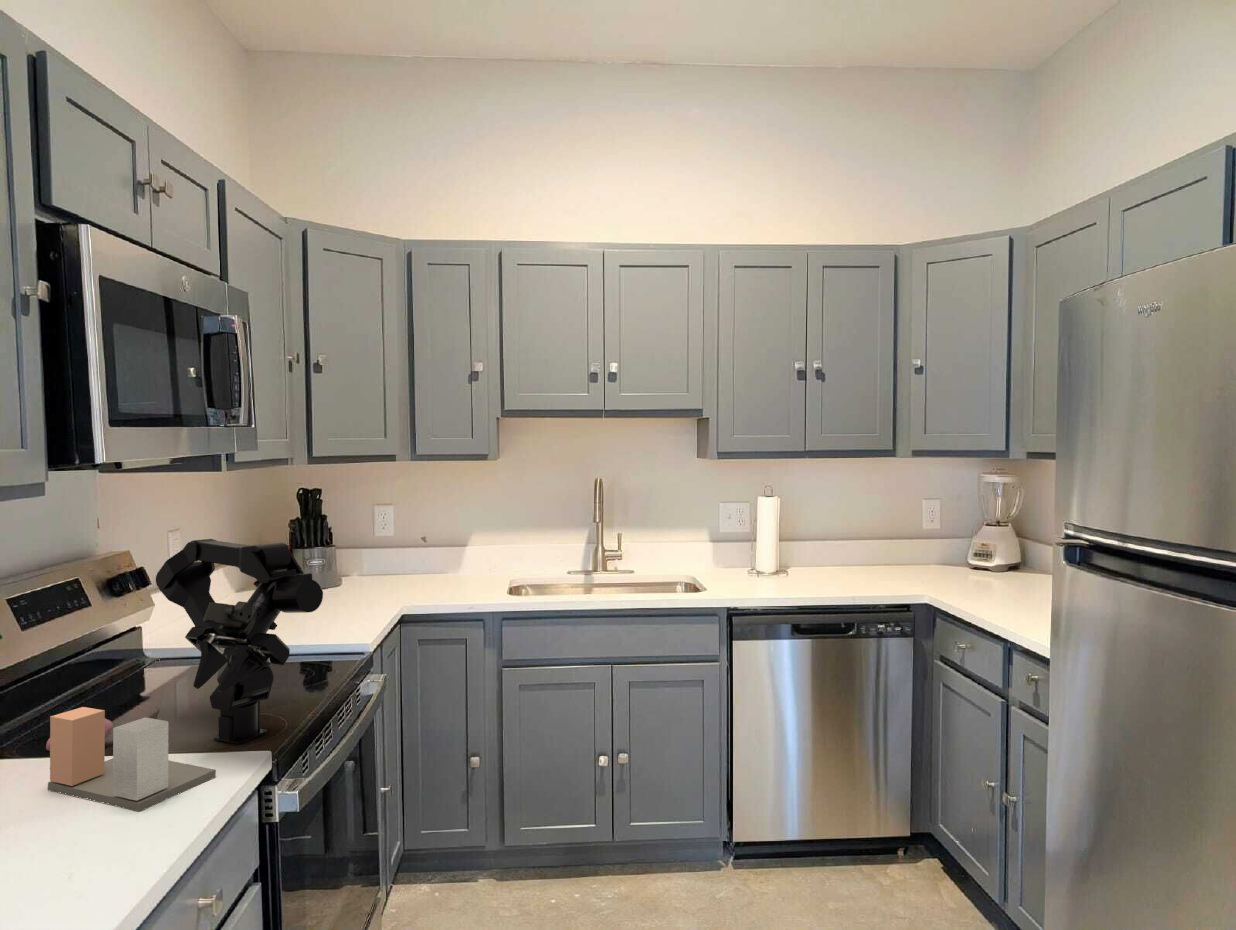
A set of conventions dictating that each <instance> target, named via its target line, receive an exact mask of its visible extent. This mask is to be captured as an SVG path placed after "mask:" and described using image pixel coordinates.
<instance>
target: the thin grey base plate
mask: <svg viewBox="0 0 1236 930" xmlns="http://www.w3.org/2000/svg"><path fill="white" fill-rule="evenodd" d="M216 777H217V775H216V769H214V768H210V767H204V766H199V765H192V764H188V763H184V762H178V761H174V760H173V761H172V760H169V759H168V787H167V788H165V789H163V790H160V791H158V792H156V793H153V794H151V795H149V796H147V797H144V798H142V799H140V800H137V801H136V800H131V799H127V798H123V797H118V796H114V795H113V758H110V759H108V760H105V765H104V774H102V775H99V776H97V777H94V778H91V779H89V780H86V781H84V782H81V783H78V784H76V785H73V786H70V785H65V784H61V783H57V782H52V781H48V782H47V790H48V789H49V790H50V792H53V791H54V793H58V792H61V793H60V794H62V793H64V794H63V795H66V794H67V796H71V795H74V796H73V797H75V796H78V797H77V798H79V797H81V798H80V799H83V798H88V799H91V800H90V801H92V800H95V801H94V802H96V801H98V803H100V802H104V803H103V804H105V803H109V804H111V805H110V806H113V805H117V806H116V807H118V806H120V807H119V808H122V809H125V810H126V809H127V810H130V809H131V810H130V811H134V812H135V811H136V812H142V811H144V810H146V809H148V808H150V807H152V805H153V806H154V805H157V804H160V803H161V802H163V801H166V800H167V799H166V798H168V799H171V798H172V796H173V797H175V796H177V795H179V794H181V793H183V792H186V791H188V790H191V789H192V788H194V787H197V786H199V785H201V784H203V783H205V782H207V781H210V780H212V779H214V778H216ZM49 790H48V791H49ZM185 790H186V791H185ZM180 792H181V793H180ZM65 793H66V794H65ZM178 793H179V794H178ZM176 794H177V795H176ZM174 795H175V796H174ZM88 799H87V800H88ZM165 799H166V800H165ZM109 804H108V805H109ZM123 807H124V808H123Z"/></svg>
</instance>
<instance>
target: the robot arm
mask: <svg viewBox="0 0 1236 930" xmlns="http://www.w3.org/2000/svg"><path fill="white" fill-rule="evenodd" d="M215 564H216V565H217V564H218V565H221V566H222V565H224V566H230V567H236V568H238V569H239V572H241V573H242V574H244V575H247V576H248V577H251V578H254V579H256V580H255V581H254V582H253V585H254V586H255V590H254V591H253V593H252V594H251V596H250V597H249V599H248V600H247V601H238V602H236V604H235V605H234V604H230V603H229V604H228V603H220V602H216V601H215V600H214V597H213V596H212V595H211V594H210V592H211V591H210V589H211V585H212V584H211V582H212V578H211V575H212V574H213V573H214V572H215V569H216V567H215V566H216V565H215ZM155 584H156V586H157V588H158V590H159V591H160V592H161V594H163V596H164V597H165V598H166V599H167V600H168V601H169V602H171V603H174V604H175V605H177V606H179V607H181V608H183V609H184V611H185V612H186V614H187V615H188V617H189V618H190V620H191V622H192V624H193V625H194V626H192V627H191V628H190V629H189V631H188V632H187V633H186V635H185V636H184V638H185V639H186V640H187V641H188V642H189V643H190V644H192V646H194V647H195V648H196V649H198V650H197V651H199V652H200V658H199V663H198V668H197V671H196V675H195V678H194V680H193V684H192V685H193V687H194V688H195V689H197V690H199V689H201V687H203V686H204V685H205V684H206V683H208V681H209V680H211V678H212V677H214V675H216V674H217V678H216V680H217V683H218V685H217V686H216V688H215V690H213V692H212V693H211V694H210V696H209V700H210V705H211V708H212V709H215V710H219V716H218V734H217V735H215V736H214V737H213V741H219V742H223V743H224V742H225V743H230V744H237V745H240V744H244V743H246V742H248V741H250V740H253V739H255V738H257V737H259V736H262V735H265V734H267V731H268V730H267V729H263V728H261V701H264V700H268V699H269V697H270V693H271V690H272V686H273V682H274V677H275V676H274V672H273V670H272V667H270V666H272V665H279V666H284V665H285V664H286V662H287V660H288V659H289V657H290V651H291V649H290V647H288V645H287V644H286V643H285V642H284V641H283V640H282V639H281V638H280V637H279V636H278V634H276V633H268V631H269V630H271V631H275V630H276V629H277V627H278V624H277V623H276V622H275V621H276V619H277V618H278V616H279V614H280V613H281V612H282V613H285V614H287V613H288V614H292V613H293V614H296V613H301V614H302V613H313V612H315V611H317V610H318V609H319V607H320V606H321V605H322V603H323V600H324V599H323V598H324V592H323V590H322V588H321V586H320V584H319V583H318V582H317V581H316V580H314V579H313V574H312V572H308V573H307V572H306V573H304V571H303V569H302V567H301V566H300V565H299V563H298V561H297V560H296V558H295V557H294V554H293V553H292V552H291V550H290V549H289V545H287V544H286V543H284V542H274V543H272V542H271V543H263V544H253V545H250V544H249V545H248V544H241V543H237V542H229V541H221V540H217V539H213V538H206V539H195V540H194V539H193V540H191V541H189V542H186V544H185V546H183V548H182V549H181V550H180V551H178V552H177V553H176V554H174V555H173V556H171V557H170V558H168V559H167V560H166V561H165V562H164V563H163V565H162V566H161V567H160V568H159V570H158V571H157V574H156V575H155ZM268 660H269V661H268Z"/></svg>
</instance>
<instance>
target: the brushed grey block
mask: <svg viewBox="0 0 1236 930" xmlns="http://www.w3.org/2000/svg"><path fill="white" fill-rule="evenodd" d="M112 732H113V733H112V738H113V739H112V742H113V743H112V744H113V745H112V747H113V748H112V751H113V753H112V759H113V795H114V796H118V797H123V798H127V799H131V800H136V801H137V800H140V799H142V798H144V797H147V796H149V795H151V794H153V793H156V792H158V791H160V790H163V789H165V788H167V787H168V760H169V721H168V720H164V719H163V720H162V719H156V718H152V717H142V718H139V719H137V720H133V721H130V722H127V723H124V724H121V725H118V726H115V727H113V729H112Z"/></svg>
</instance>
